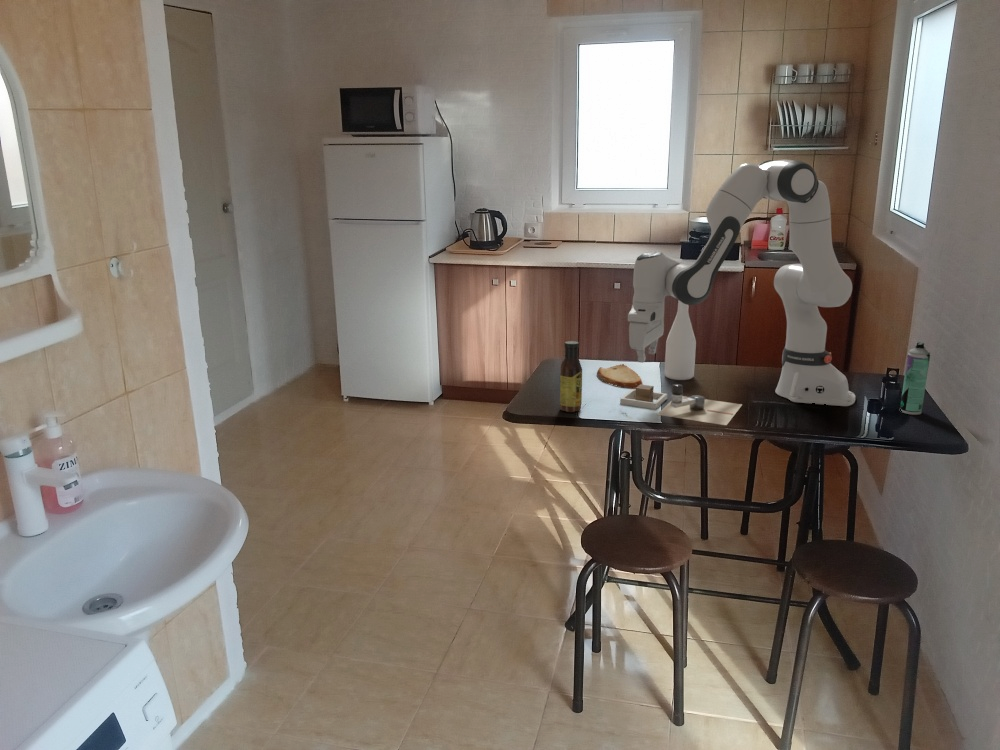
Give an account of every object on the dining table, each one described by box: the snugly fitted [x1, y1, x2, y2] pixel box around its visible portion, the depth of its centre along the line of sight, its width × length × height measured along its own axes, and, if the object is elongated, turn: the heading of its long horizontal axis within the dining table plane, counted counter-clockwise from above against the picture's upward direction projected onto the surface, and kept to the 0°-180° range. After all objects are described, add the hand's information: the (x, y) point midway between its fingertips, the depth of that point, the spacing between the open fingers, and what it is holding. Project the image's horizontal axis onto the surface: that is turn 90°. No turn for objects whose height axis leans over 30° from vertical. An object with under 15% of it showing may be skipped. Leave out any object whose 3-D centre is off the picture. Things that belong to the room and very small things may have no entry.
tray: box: [619, 388, 668, 410], centre depth 222 cm, size 11×11×3 cm
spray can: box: [899, 342, 931, 416], centre depth 213 cm, size 6×6×20 cm
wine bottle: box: [663, 299, 697, 381], centre depth 247 cm, size 10×10×30 cm
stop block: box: [635, 383, 655, 402], centre depth 221 cm, size 4×4×5 cm
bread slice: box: [596, 363, 644, 389], centre depth 249 cm, size 18×18×4 cm
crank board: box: [656, 395, 743, 426], centre depth 214 cm, size 19×20×2 cm
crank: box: [670, 383, 706, 410], centre depth 212 cm, size 11×4×8 cm, turn 121°
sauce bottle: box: [559, 340, 583, 413], centre depth 217 cm, size 6×6×20 cm
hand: (646, 357), depth 218 cm, fingers open, 8 cm apart
